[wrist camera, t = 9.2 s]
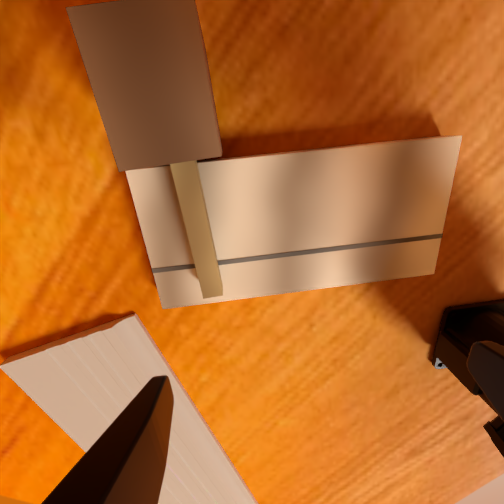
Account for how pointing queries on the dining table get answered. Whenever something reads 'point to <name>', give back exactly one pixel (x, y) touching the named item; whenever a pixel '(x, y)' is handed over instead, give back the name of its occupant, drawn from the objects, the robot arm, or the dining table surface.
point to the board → (302, 218)
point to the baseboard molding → (119, 396)
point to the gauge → (156, 101)
